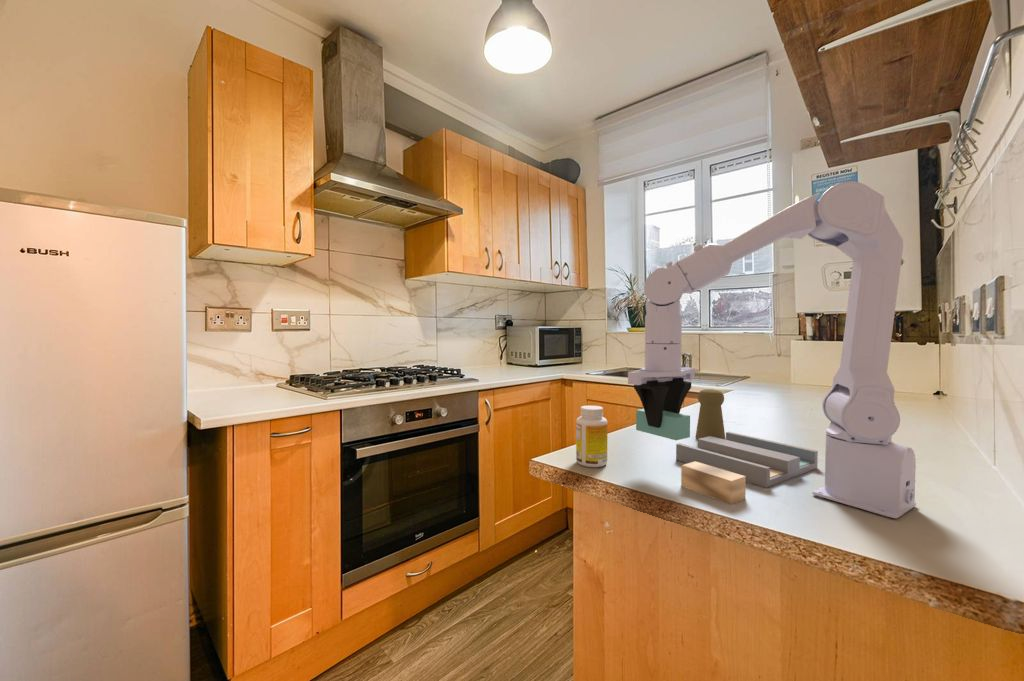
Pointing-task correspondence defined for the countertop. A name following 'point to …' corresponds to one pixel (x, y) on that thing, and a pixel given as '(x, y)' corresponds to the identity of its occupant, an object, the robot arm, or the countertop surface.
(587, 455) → the supplement bottle
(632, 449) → the countertop surface
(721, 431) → the cork
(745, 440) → the rack
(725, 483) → the oak stick
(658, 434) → the teal stick
